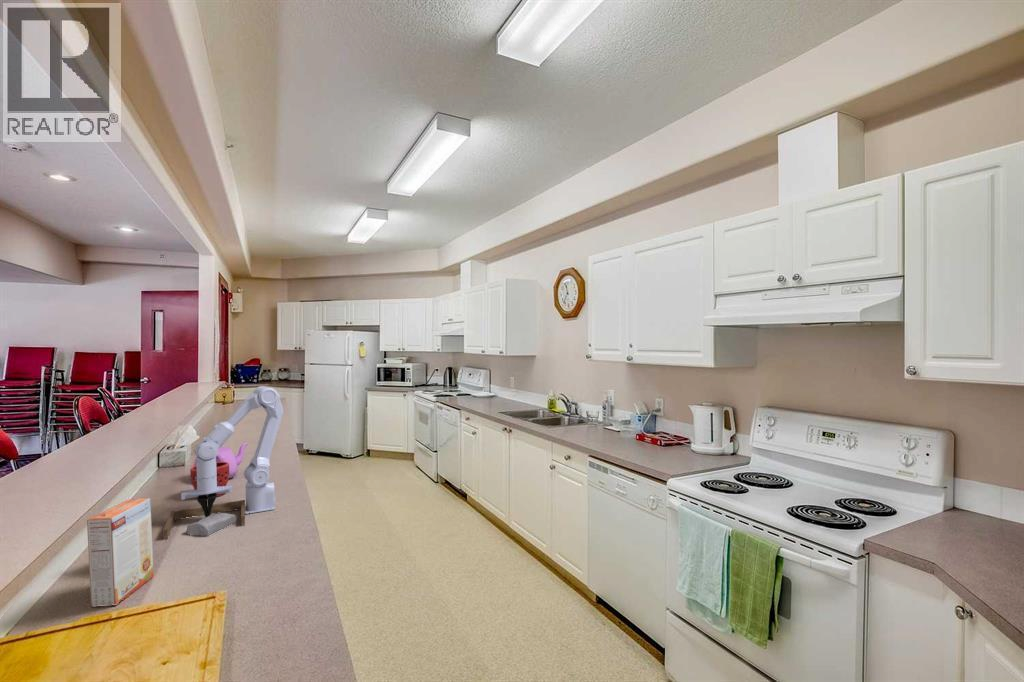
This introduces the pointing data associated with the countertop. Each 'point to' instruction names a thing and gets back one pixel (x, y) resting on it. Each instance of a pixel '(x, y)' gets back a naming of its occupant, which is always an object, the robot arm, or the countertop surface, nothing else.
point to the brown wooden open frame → (199, 511)
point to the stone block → (211, 524)
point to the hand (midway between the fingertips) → (207, 516)
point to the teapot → (229, 458)
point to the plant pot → (221, 475)
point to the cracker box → (120, 551)
